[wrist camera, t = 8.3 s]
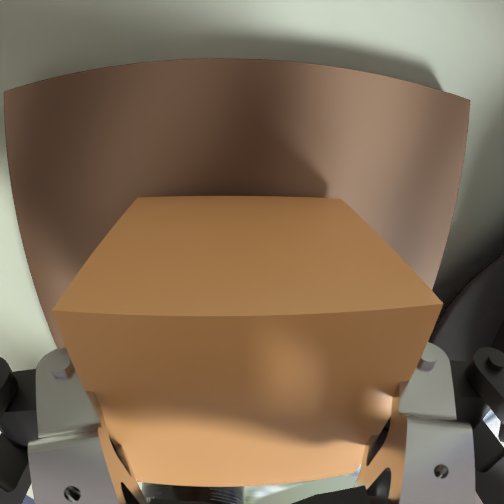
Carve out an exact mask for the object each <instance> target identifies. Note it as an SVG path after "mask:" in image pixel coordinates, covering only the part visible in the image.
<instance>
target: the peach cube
mask: <svg viewBox="0 0 504 504" xmlns="http://www.w3.org/2000/svg"><path fill="white" fill-rule="evenodd" d="M442 306H443V303H442V301H441V300H440V299H439V298H438V297H437V296H436V295H435V293H434V292H433V291H432V290H431V289H430V288H429V287H428V286H427V285H426V283H425V282H424V281H423V280H422V279H421V278H420V277H419V276H418V275H417V274H416V273H415V272H414V271H413V269H412V268H411V267H410V266H409V265H408V264H407V263H406V262H405V261H404V260H403V259H402V258H401V257H400V256H399V255H398V254H397V253H396V252H395V251H394V250H393V249H392V248H391V247H390V246H389V245H388V244H387V243H386V242H385V241H384V240H383V239H382V238H381V237H380V236H379V235H378V234H377V233H376V232H375V231H374V230H373V229H372V228H371V227H370V226H369V225H368V224H367V223H366V222H365V221H364V220H363V219H362V218H361V217H360V216H359V215H358V214H357V213H356V212H355V211H354V210H353V209H352V208H350V207H349V206H348V205H347V204H346V203H345V202H344V201H343V200H342V199H340V198H316V197H281V196H169V197H138V198H137V199H136V200H135V201H134V202H133V203H132V205H131V206H130V207H129V208H128V209H127V211H126V212H125V213H124V214H123V215H122V217H121V218H120V219H119V220H118V221H117V223H116V224H115V225H114V226H113V228H112V229H111V230H110V231H109V233H108V234H107V235H106V236H105V238H104V239H103V240H102V241H101V243H100V244H99V245H98V247H97V248H96V249H95V251H94V252H93V253H92V254H91V256H90V257H89V258H88V260H87V261H86V262H85V264H84V265H83V267H82V268H81V269H80V271H79V272H78V273H77V275H76V276H75V278H74V279H73V280H72V282H71V283H70V285H69V286H68V287H67V289H66V290H65V292H64V293H63V295H62V296H61V298H60V299H59V301H58V302H57V303H56V305H55V306H54V308H53V309H52V312H53V315H54V317H55V320H56V323H57V326H58V328H59V331H60V334H61V336H62V339H63V342H64V344H65V347H66V349H67V351H68V354H69V356H70V359H71V361H72V363H73V366H74V368H75V370H76V372H77V375H78V377H79V379H80V381H81V383H82V386H83V388H84V390H85V391H91V392H94V393H95V395H96V397H97V399H98V401H99V403H100V405H101V408H102V412H103V416H104V420H105V424H106V428H107V432H108V435H109V437H110V439H111V441H112V442H113V444H116V445H122V447H123V449H124V451H125V452H126V454H127V457H128V460H129V462H130V465H131V468H132V471H133V473H134V476H135V479H136V480H137V482H145V483H155V484H165V485H179V486H202V487H237V486H260V485H274V484H285V483H294V482H302V481H310V480H317V479H323V478H329V477H335V476H341V475H346V474H351V473H354V472H355V471H356V469H357V468H358V467H359V465H360V464H361V462H362V459H363V454H364V449H365V445H366V443H367V441H368V440H369V438H370V436H373V435H377V434H380V433H381V431H382V430H383V428H384V426H385V425H386V423H387V421H388V420H389V418H390V416H391V408H392V397H393V395H394V393H395V391H396V389H397V387H398V385H399V383H400V382H403V381H408V380H410V379H411V377H412V375H413V373H414V371H415V369H416V367H417V365H418V363H419V361H420V358H421V356H422V354H423V352H424V350H425V347H426V345H427V343H428V341H429V338H430V336H431V334H432V331H433V329H434V326H435V324H436V322H437V319H438V317H439V314H440V311H441V309H442Z"/></svg>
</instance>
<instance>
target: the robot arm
mask: <svg viewBox="0 0 504 504" xmlns="http://www.w3.org/2000/svg"><path fill="white" fill-rule="evenodd" d="M490 409H491V410H492V411H493V412H494V413H495V415H496V416H497V417H498V418H499V419H500V421H501V422H502V423H503V425H504V353H503V352H501V351H499V350H497V349H495V348H491V347H483V348H480V349H478V350H477V351H476V353H475V354H474V356H473V358H472V360H471V362H466V361H453V360H449V358H448V356H447V355H446V353H445V352H444V351H443V350H442V349H441V348H439V347H438V346H436V345H434V344H432V343H429V342H428V343H427V345H426V347H425V350H424V352H423V354H422V356H421V358H420V361H419V363H418V365H417V367H416V369H415V371H414V373H413V375H412V377H411V379H410V380H408V381H403V382H400V383H399V385H398V387H397V389H396V391H395V393H394V395H393V397H392V408H391V416H390V418H389V420H388V421H387V423H386V425H385V426H384V428H383V430H382V431H381V433H380V434H377V435H373V436H370V438H369V440H368V441H367V443H366V445H365V449H364V454H363V459H362V465H361V469H360V473H359V476H358V478H357V481H356V483H355V485H354V487H353V488H350V489H345V490H340V491H335V492H329V493H323V494H317V495H314V496H311V497H309V498H307V499H303V500H301V501H298V502H295V503H292V504H475V491H476V492H477V494H478V496H479V497H480V499H481V500H482V502H483V503H484V504H504V447H503V446H502V445H501V443H500V442H499V441H498V439H497V438H496V437H495V435H494V434H493V433H492V431H491V430H490V429H489V428H488V426H487V425H486V424H485V422H484V421H483V420H482V419H483V418H484V417H485V415H486V414H487V413H488V411H489V410H490ZM0 431H1V432H2V433H1V434H0V504H22V502H23V500H24V498H25V496H26V493H27V491H28V489H29V487H30V485H31V483H32V489H33V495H34V501H35V504H148V503H147V501H146V499H145V497H144V495H143V493H142V491H141V489H140V488H139V486H138V483H137V481H136V479H135V476H134V473H133V471H132V468H131V465H130V462H129V460H128V457H127V454H126V452H125V451H124V449H123V447H122V445H116V444H113V442H112V441H111V439H110V437H109V435H108V432H107V428H106V424H105V420H104V416H103V412H102V408H101V405H100V403H99V401H98V399H97V397H96V395H95V393H94V392H91V391H85V390H84V388H83V386H82V383H81V381H80V379H79V377H78V375H77V372H76V370H75V368H74V366H73V363H72V361H71V359H70V356H69V354H68V351H67V349H66V347H65V348H60V349H56V350H54V351H51V352H50V353H48V354H47V355H45V356H44V357H43V358H42V359H41V360H40V362H39V363H38V365H37V368H36V369H33V370H25V371H16V372H12V370H11V369H10V367H9V365H8V363H7V362H6V361H5V360H4V359H3V358H1V357H0ZM150 504H211V503H207V502H196V501H178V500H165V499H155V498H151V500H150Z"/></svg>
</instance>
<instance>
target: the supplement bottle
mask: <svg viewBox="0 0 504 504" xmlns="http://www.w3.org/2000/svg"><path fill="white" fill-rule="evenodd" d="M142 493H143V495H144V497H145V499H146V501H147V503H148V504H150V500H151V498H155V499H165V500H178V501H196V502H207V503H211V504H245V493H244V486H237V487H202V486H179V485H165V484H155V483H145V482H143V483H142Z"/></svg>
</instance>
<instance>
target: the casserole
mask: <svg viewBox="0 0 504 504" xmlns="http://www.w3.org/2000/svg"><path fill="white" fill-rule="evenodd" d="M428 342H429V343H432V344H434V345H436V346H438V347H439V348H441V349H442V350H443V351H444V352H445V353H446V355H447V356H448V358H449V360H453V361H466V362H471V360H472V358H473V356H474V354H475V353H476V351H477V350H478V349H480V348H483V347H491V348H495V349H497V350H499V351H501V352H503V353H504V254H503V255H502V256H500V257H499V258H498V259H497V260H495V261H494V262H493V263H492V264H490V265H489V266H488V267H487V268H485V269H484V270H483V271H482V272H481V273H479V274H478V275H477V276H476V277H475V278H473V279H472V280H471V281H470V282H468V283H467V284H466V286H465V287H464V288H463V289H462V291H461V292H460V293H459V294H458V296H457V297H456V298H455V299H454V300H453V301H452V302H451V304H450V305H449V306H448V307H447V309H446V310H445V312H444V314H443V316H442V317H441V319H440V321H439V323H438V324H437V326H436V328H435V329H434V331H433V333H432V334H431V336H430V338H429V341H428ZM498 437H499V439H500V441H502V442H504V425H503V423H502V422H501V425H500V430H499V436H498Z"/></svg>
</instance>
